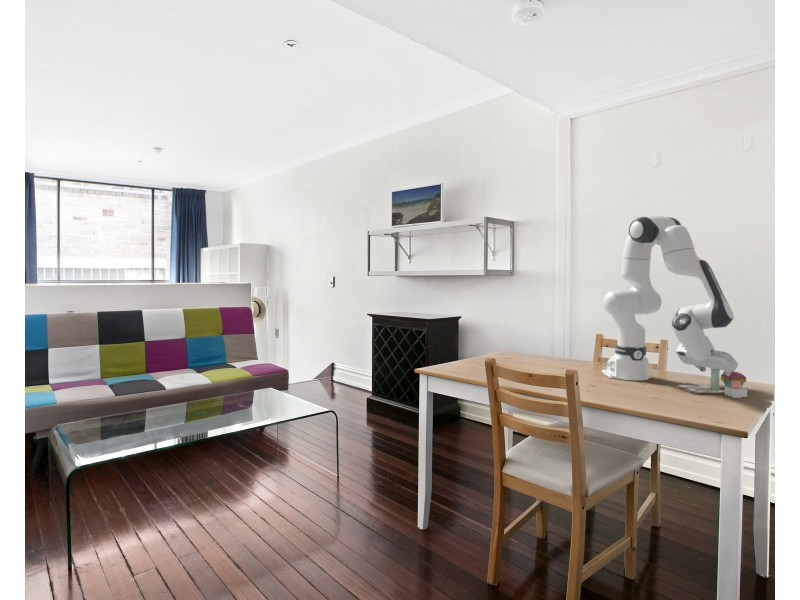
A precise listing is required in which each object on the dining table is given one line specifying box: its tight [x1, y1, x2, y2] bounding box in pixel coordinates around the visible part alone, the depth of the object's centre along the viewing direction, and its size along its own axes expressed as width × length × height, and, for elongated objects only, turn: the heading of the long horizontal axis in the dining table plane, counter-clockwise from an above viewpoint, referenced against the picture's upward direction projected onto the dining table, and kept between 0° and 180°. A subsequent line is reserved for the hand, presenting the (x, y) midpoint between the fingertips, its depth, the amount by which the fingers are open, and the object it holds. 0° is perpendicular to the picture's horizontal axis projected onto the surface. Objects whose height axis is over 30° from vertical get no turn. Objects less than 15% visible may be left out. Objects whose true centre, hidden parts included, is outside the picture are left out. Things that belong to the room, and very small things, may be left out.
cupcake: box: [720, 371, 747, 388], centre depth 194 cm, size 9×8×12 cm
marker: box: [710, 368, 721, 391], centre depth 189 cm, size 3×3×12 cm
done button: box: [731, 381, 742, 389], centre depth 183 cm, size 3×3×4 cm
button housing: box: [723, 386, 748, 399], centre depth 183 cm, size 5×5×3 cm
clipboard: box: [674, 382, 725, 395], centre depth 193 cm, size 15×14×1 cm
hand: (715, 372), depth 189 cm, fingers open, 8 cm apart
